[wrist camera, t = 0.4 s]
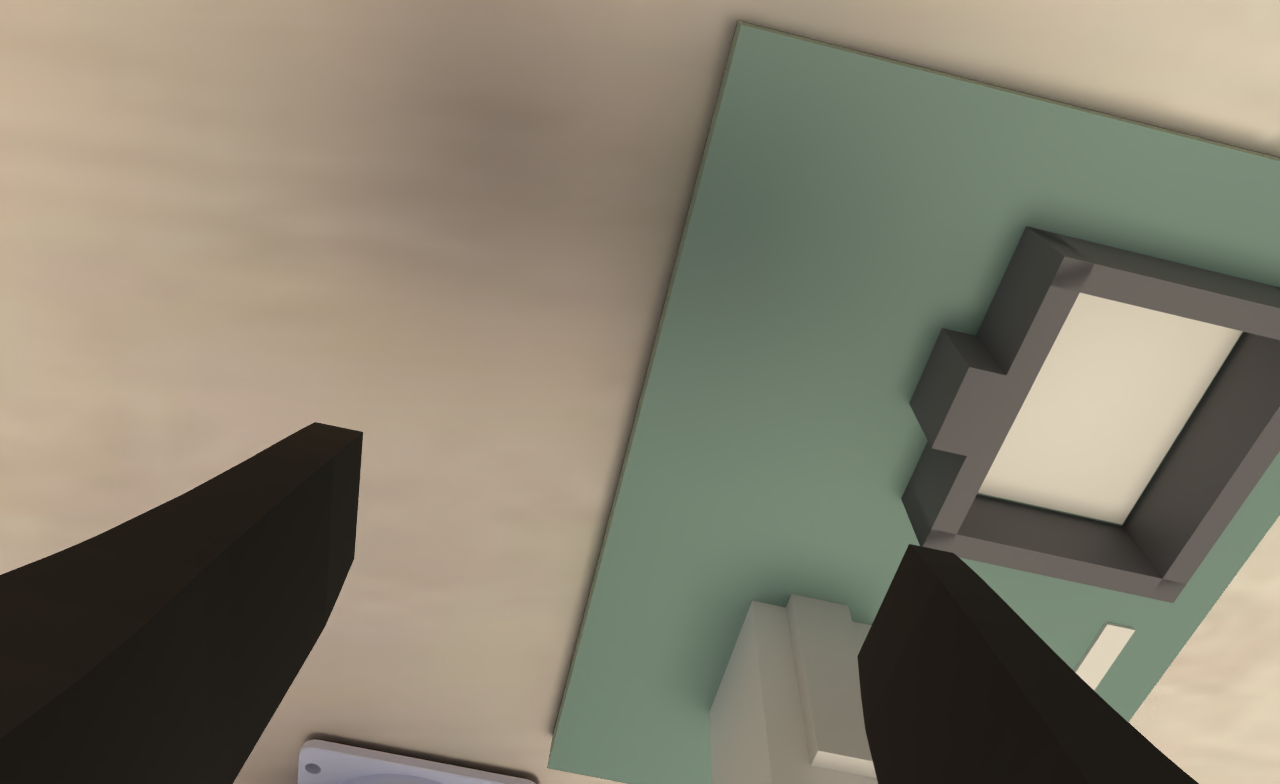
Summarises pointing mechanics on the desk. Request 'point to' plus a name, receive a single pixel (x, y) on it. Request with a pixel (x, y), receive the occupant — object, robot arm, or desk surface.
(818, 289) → the board
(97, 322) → the desk surface
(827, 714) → the plug
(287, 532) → the robot arm
